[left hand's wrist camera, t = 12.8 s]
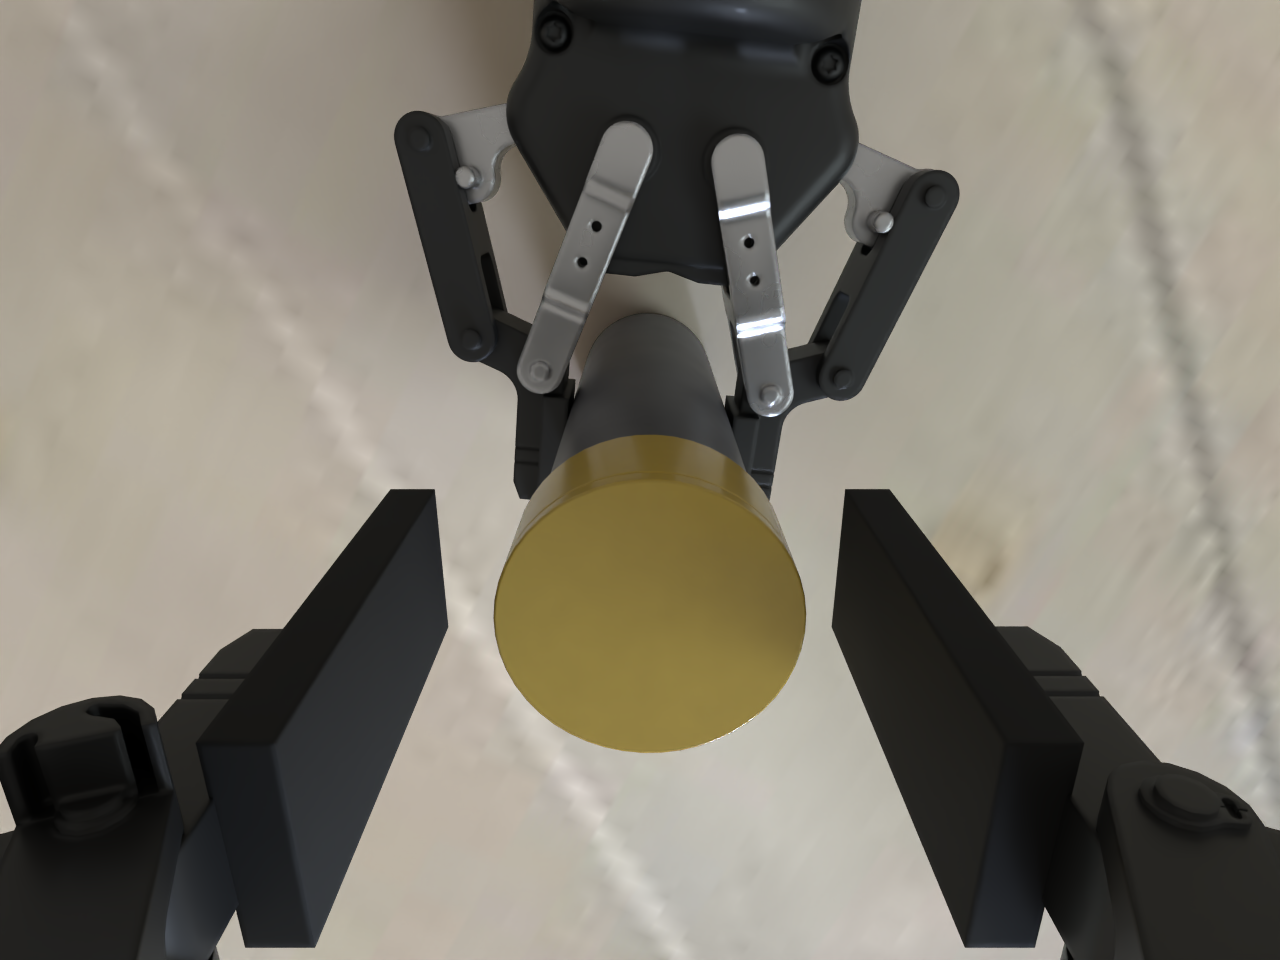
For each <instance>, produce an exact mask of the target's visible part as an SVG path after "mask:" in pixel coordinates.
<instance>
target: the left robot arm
mask: <svg viewBox="0 0 1280 960" xmlns="http://www.w3.org/2000/svg"><path fill="white" fill-rule="evenodd" d="M447 629H448V619H447V609H446V599H445V589H444V579H443V568H442V558H441V548H440V538H439V528H438V518H437V508H436V497H435V489H390V491H389V492H388V493H387V495H386V496H385V497H384V499H383V500H382V501H381V502H380V504H379V505H378V506H377V508H376V509H375V510H374V512H373V513H372V514H371V515H370V517H369V518H368V519H367V521H366V522H365V523H364V525H363V526H362V527H361V528H360V530H359V531H358V532H357V534H356V535H355V536H354V538H353V539H352V540H351V541H350V543H349V544H348V545H347V547H346V548H345V549H344V551H343V552H342V553H341V554H340V556H339V557H338V558H337V560H336V561H335V562H334V564H333V565H332V566H331V567H330V569H329V570H328V571H327V573H326V574H325V575H324V577H323V578H322V579H321V580H320V582H319V583H318V584H317V586H316V587H315V588H314V589H313V591H312V592H311V593H310V595H309V596H308V597H307V599H306V600H305V601H304V602H303V604H302V605H301V606H300V608H299V609H298V610H297V612H296V613H295V614H294V615H293V617H292V618H291V619H290V621H289V622H288V623H287V625H286V626H285V627H284V628H283V629H252V630H251V631H249V632H248V633H246V634H244V635H243V636H241V637H240V638H238V639H236V640H235V641H233V642H232V643H230V644H229V645H227V646H225V647H224V648H222V649H221V650H220V651H219V652H218V653H217V654H216V655H215V656H214V657H213V659H212V660H211V661H210V662H209V663H208V664H207V666H206V667H205V668H204V669H203V670H202V671H201V672H200V674H199V679H194V681H193V682H192V683H191V684H190V685H189V686H188V687H187V689H186V690H185V691H184V692H183V693H182V698H181V699H177V700H176V701H175V702H174V704H173V705H172V706H171V707H170V708H169V709H168V711H167V712H166V713H165V714H164V715H163V716H162V717H161V719H160V720H159V721H158V722H157V718H156V714H155V710H154V708H153V707H152V706H150V705H149V704H148V703H146V702H145V701H144V700H142V699H138V698H132V697H126V696H109V697H98V698H91V699H87V700H83V701H80V702H76V703H72V704H69V705H65V706H61V707H59V708H57V709H55V710H53V711H50V712H48V713H46V714H44V715H41V716H39V717H37V718H35V719H33V720H31V721H29V722H28V723H26V724H25V725H24V726H22V727H21V728H19V729H18V730H16V731H15V732H13V733H12V734H10V735H9V736H7V737H6V738H5V740H4V741H3V742H2V743H1V744H0V782H1V785H2V787H3V790H4V793H5V796H6V799H7V801H8V804H9V807H10V810H11V813H12V815H13V818H14V821H15V824H16V828H15V830H14V831H10V832H7V833H3V834H0V960H220V959H219V955H218V952H217V948H216V945H217V943H218V941H219V940H220V938H221V936H222V934H223V932H224V930H225V928H226V927H227V925H228V923H229V921H230V919H231V917H232V916H233V914H234V912H235V910H236V912H237V916H238V920H239V924H240V928H241V932H242V936H243V940H244V945H245V948H315V946H316V944H317V942H318V939H319V937H320V934H321V932H322V930H323V927H324V925H325V922H326V920H327V918H328V915H329V913H330V910H331V908H332V906H333V903H334V901H335V898H336V896H337V893H338V891H339V889H340V886H341V884H342V881H343V879H344V877H345V874H346V872H347V869H348V867H349V865H350V862H351V860H352V857H353V855H354V853H355V850H356V848H357V845H358V843H359V841H360V838H361V836H362V833H363V831H364V828H365V826H366V824H367V821H368V819H369V816H370V814H371V812H372V809H373V807H374V804H375V802H376V800H377V797H378V795H379V792H380V790H381V788H382V785H383V783H384V780H385V778H386V776H387V773H388V771H389V768H390V766H391V763H392V761H393V759H394V756H395V754H396V751H397V749H398V747H399V744H400V742H401V739H402V737H403V735H404V732H405V730H406V727H407V725H408V723H409V720H410V718H411V715H412V713H413V711H414V708H415V706H416V703H417V701H418V698H419V696H420V694H421V691H422V689H423V686H424V684H425V682H426V679H427V677H428V674H429V672H430V670H431V667H432V665H433V662H434V660H435V658H436V655H437V653H438V650H439V648H440V646H441V643H442V641H443V638H444V636H445V633H446V631H447ZM832 629H833V631H834V633H835V636H836V638H837V641H838V643H839V646H840V648H841V650H842V653H843V655H844V658H845V660H846V662H847V665H848V667H849V670H850V672H851V674H852V677H853V679H854V682H855V684H856V686H857V689H858V691H859V694H860V696H861V698H862V701H863V703H864V706H865V708H866V711H867V713H868V715H869V718H870V720H871V723H872V725H873V727H874V730H875V732H876V735H877V737H878V739H879V742H880V744H881V747H882V749H883V751H884V754H885V756H886V759H887V761H888V763H889V766H890V768H891V771H892V773H893V776H894V778H895V780H896V783H897V785H898V788H899V790H900V792H901V795H902V797H903V800H904V802H905V804H906V807H907V809H908V812H909V814H910V816H911V819H912V821H913V824H914V826H915V828H916V831H917V833H918V836H919V838H920V841H921V843H922V845H923V848H924V850H925V853H926V855H927V857H928V860H929V862H930V865H931V867H932V869H933V872H934V874H935V877H936V879H937V881H938V884H939V886H940V889H941V891H942V893H943V896H944V898H945V901H946V903H947V906H948V908H949V910H950V913H951V915H952V918H953V920H954V922H955V925H956V927H957V930H958V932H959V934H960V937H961V939H962V942H963V944H964V946H965V948H1035V945H1036V940H1037V936H1038V932H1039V928H1040V924H1041V920H1042V916H1043V912H1044V908H1046V910H1047V911H1048V913H1049V915H1050V917H1051V919H1052V921H1053V922H1054V924H1055V926H1056V928H1057V930H1058V932H1059V933H1060V935H1061V937H1062V939H1063V941H1064V943H1065V944H1064V948H1063V952H1062V955H1061V959H1060V960H1280V830H1275V829H1272V828H1268V827H1265V826H1264V824H1263V823H1262V822H1261V820H1260V819H1259V817H1258V816H1257V815H1256V813H1255V812H1254V811H1253V809H1252V808H1251V806H1250V805H1249V804H1247V803H1246V802H1245V801H1244V800H1242V799H1241V798H1240V797H1239V796H1237V795H1236V794H1235V793H1233V792H1232V791H1231V790H1230V789H1228V788H1227V787H1226V786H1224V785H1222V784H1220V783H1218V782H1216V781H1214V780H1212V779H1210V778H1208V777H1206V776H1204V775H1202V774H1200V773H1198V772H1195V771H1192V770H1189V769H1186V768H1182V767H1179V766H1176V765H1173V764H1170V763H1162V762H1160V761H1159V760H1158V758H1157V757H1156V756H1155V755H1154V754H1153V753H1152V751H1151V750H1150V749H1149V748H1148V747H1147V746H1146V745H1145V743H1144V742H1143V741H1142V740H1141V739H1140V738H1139V737H1138V735H1137V734H1136V733H1135V732H1134V731H1133V730H1132V729H1131V727H1130V726H1129V725H1128V724H1127V723H1126V722H1125V721H1124V719H1123V718H1122V717H1121V716H1120V715H1119V714H1118V713H1117V711H1116V710H1115V709H1114V708H1113V707H1112V706H1111V705H1110V703H1109V702H1108V701H1107V700H1106V699H1105V698H1104V697H1100V696H1099V691H1098V690H1097V688H1096V687H1095V686H1094V685H1093V684H1092V683H1091V682H1090V680H1089V679H1088V678H1087V677H1086V676H1082V674H1081V670H1080V669H1079V668H1078V667H1077V666H1076V664H1075V663H1074V662H1073V661H1072V660H1071V659H1070V658H1069V656H1068V655H1067V654H1066V653H1065V652H1064V651H1063V649H1062V648H1061V647H1059V646H1058V645H1056V644H1055V643H1053V642H1051V641H1050V640H1048V639H1047V638H1045V637H1043V636H1042V635H1040V634H1039V633H1037V632H1035V631H1034V630H1032V629H1031V628H1029V627H995V626H994V625H993V623H992V622H991V621H990V619H989V618H988V617H987V615H986V614H985V613H984V612H983V610H982V609H981V608H980V606H979V605H978V604H977V602H976V601H975V600H974V599H973V597H972V596H971V595H970V593H969V592H968V591H967V590H966V588H965V587H964V586H963V584H962V583H961V582H960V580H959V579H958V578H957V577H956V575H955V574H954V573H953V571H952V570H951V569H950V567H949V566H948V565H947V564H946V562H945V561H944V560H943V558H942V557H941V556H940V554H939V553H938V552H937V551H936V549H935V548H934V547H933V545H932V544H931V543H930V541H929V540H928V539H927V538H926V536H925V535H924V534H923V532H922V531H921V530H920V528H919V527H918V526H917V525H916V523H915V522H914V521H913V519H912V518H911V517H910V515H909V514H908V513H907V512H906V510H905V509H904V508H903V506H902V505H901V504H900V502H899V501H898V500H897V499H896V497H895V496H894V495H893V493H892V492H891V491H890V489H845V497H844V508H843V518H842V528H841V538H840V548H839V558H838V568H837V579H836V589H835V599H834V609H833V619H832Z"/></svg>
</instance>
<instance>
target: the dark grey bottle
mask: <svg viewBox="0 0 1280 960" xmlns="http://www.w3.org/2000/svg"><path fill="white" fill-rule="evenodd" d="M634 435H664V436H673V437H678V438H682V439H687V440H691V441H694V442H697V443H699V444H702V445H705V446H707V447H710V448H712V449H714V450H716V451H718V452H719V453H721V454H723V455H725V456H727V457H728V458H729V459H731V460H732V461H734V462H735V463H736V464H738V465H739V466H740V467H742V468H743V469H744V470H745V467H744V464H743V461H742V458H741V455H740V452H739V449H738V446H737V443H736V440H735V437H734V434H733V432H732V429H731V426H730V423H729V420H728V417H727V414H726V411H725V408H724V405H723V402H722V399H721V396H720V393H719V390H718V387H717V384H716V381H715V379H714V376H713V373H712V370H711V367H710V364H709V361H708V358H707V355H706V353H705V350H704V348H703V346H702V344H701V343H700V341H699V339H698V338H697V337H696V336H695V334H694V333H693V332H692V331H691V330H690V329H689V328H687V327H686V326H685V325H683V324H682V323H680V322H678V321H677V320H675V319H672V318H670V317H667V316H664V315H660V314H652V313H642V314H635V315H631V316H628V317H625V318H623V319H620V320H618V321H616V322H615V323H613V324H612V325H610V326H609V327H608V328H606V329H605V330H604V331H603V332H602V333H601V334H600V335H599V337H598V338H597V339H596V341H595V342H594V344H593V346H592V348H591V350H590V352H589V355H588V358H587V361H586V364H585V367H584V370H583V373H582V376H581V380H580V383H579V386H578V389H577V392H576V395H575V398H574V402H573V405H572V408H571V411H570V414H569V417H568V420H567V424H566V427H565V430H564V433H563V436H562V439H561V442H560V446H559V449H558V452H557V455H556V458H555V461H554V464H553V468H552V471H551V473H552V472H553V471H554V470H555V469H556V468H557V467H559V466H560V465H561V464H562V463H564V462H565V461H566V460H568V459H569V458H571V457H572V456H574V455H576V454H578V453H579V452H581V451H583V450H584V449H587V448H589V447H592V446H594V445H596V444H599V443H601V442H605V441H608V440H612V439H616V438H620V437H627V436H634ZM745 471H746V470H745Z"/></svg>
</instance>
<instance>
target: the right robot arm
mask: <svg viewBox="0 0 1280 960" xmlns="http://www.w3.org/2000/svg"><path fill="white" fill-rule="evenodd" d="M861 1H862V0H534V7H533V27H532V38H531V44H530V49H529V52H528V55H527V59H526V61H525V63H524V66H523V68H522V70H521V72H520V74H519V75H518V77H517V79H516V80H515V82H514V83H513V85H512V87H511V90H510V92H509V95H508V99H507V103H505V104H500V105H495V106H491V107H486V108H481V109H476V110H471V111H466V112H461V113H456V114H452V115H447V116H437V115H434V114H430V113H427V112H423V111H412V112H409V113H407V114H405V115H404V116H403V117H402V118H401V119H400V120H399V121H398V123H397V125H396V128H395V132H394V140H395V145H396V149H397V153H398V156H399V160H400V164H401V168H402V171H403V175H404V179H405V183H406V186H407V190H408V194H409V197H410V201H411V205H412V209H413V212H414V216H415V220H416V224H417V227H418V231H419V235H420V239H421V242H422V246H423V250H424V254H425V257H426V261H427V265H428V268H429V272H430V276H431V280H432V283H433V287H434V291H435V295H436V298H437V302H438V306H439V310H440V313H441V317H442V321H443V325H444V328H445V332H446V336H447V339H448V343H449V346H450V348H451V350H452V351H453V353H454V354H455V355H456V356H457V357H459V358H460V359H462V360H465V361H468V362H478V361H479V362H481V363H484V364H486V365H488V366H490V367H492V368H494V369H496V370H499V371H501V372H502V373H504V374H505V375H507V376H508V377H509V378H510V379H511V381H512V382H513V384H514V386H515V388H516V391H517V395H518V405H517V424H516V443H515V446H516V447H515V463H514V484H515V487H516V489H517V492H518V495H519V498H520V499H529V500H530V499H531V497H532V495H533V494H534V493H535V491H536V490H537V489H538V487H539V486H540V485H541V483H542V482H543V481H544V480H545V479H546V478H547V477H548V476H549V475H550V474H551V471H552V468H553V464H554V461H555V458H556V455H557V452H558V449H559V446H560V442H561V439H562V436H563V433H564V430H565V427H566V424H567V420H568V417H569V414H570V411H571V408H572V405H573V402H574V393H575V379H568V376H569V362H570V359H571V356H572V354H573V351H574V349H575V347H576V344H577V342H578V339H579V337H580V334H581V332H582V329H583V327H584V324H585V322H586V319H587V317H588V315H589V312H590V310H591V307H592V305H593V302H594V300H595V297H596V295H597V292H598V290H599V288H600V285H601V283H602V280H603V278H604V275H605V273H609V274H618V275H627V276H641V275H647V274H653V273H659V272H666V271H668V272H672V273H674V274H677V275H679V276H682V277H684V278H687V279H689V280H692V281H695V282H697V283H703V284H713V285H721V288H722V294H723V300H724V305H725V310H726V314H727V318H728V323H729V329H730V335H731V341H732V346H733V352H734V358H735V364H736V370H737V382H736V389H735V395H734V396H727V395H726V401H725V411H726V414H727V417H728V420H729V423H730V426H731V429H732V432H733V434H734V437H735V440H736V443H737V446H738V449H739V452H740V455H741V458H742V461H743V464H744V467H745V470H746V472H747V473H748V474H749V475H750V476H751V477H752V478H753V479H754V480H755V481H756V483H757V484H758V485H759V486H760V488H761V489H762V490H763V491H764V493H765V495H766V496H767V498H768V500H770V494H771V486H772V483H773V477H774V471H775V465H776V459H777V453H778V447H779V441H780V435H781V430H782V425H783V422H784V420H785V418H786V416H787V415H788V414H789V412H790V411H791V410H792V409H794V408H795V407H797V406H798V405H801V404H803V403H806V402H811V401H815V400H819V399H823V398H827V397H829V398H831V399H833V400H838V401H844V400H848V399H851V398H853V397H854V396H856V395H857V394H858V393H859V392H860V391H861V390H862V388H863V386H864V384H865V383H866V381H867V379H868V377H869V375H870V373H871V371H872V369H873V367H874V365H875V363H876V361H877V359H878V357H879V355H880V353H881V352H882V350H883V348H884V346H885V344H886V342H887V340H888V338H889V336H890V334H891V332H892V330H893V328H894V326H895V324H896V322H897V321H898V319H899V317H900V315H901V313H902V311H903V309H904V307H905V305H906V303H907V301H908V299H909V297H910V295H911V293H912V291H913V290H914V288H915V286H916V284H917V282H918V280H919V278H920V276H921V274H922V272H923V270H924V268H925V266H926V264H927V262H928V260H929V259H930V257H931V255H932V253H933V251H934V249H935V247H936V245H937V243H938V241H939V239H940V237H941V235H942V233H943V231H944V229H945V228H946V226H947V224H948V222H949V220H950V218H951V216H952V214H953V212H954V210H955V208H956V206H957V204H958V201H959V186H958V184H957V181H956V180H955V178H954V177H953V176H952V175H951V174H949V173H947V172H945V171H942V170H933V169H915V168H913V167H911V166H909V165H907V164H904V163H902V162H900V161H898V160H896V159H893V158H891V157H889V156H887V155H885V154H882V153H880V152H878V151H876V150H874V149H871V148H869V147H867V146H865V145H863V144H861V143H859V133H858V127H857V123H856V120H855V117H854V114H853V111H852V107H851V103H850V97H849V84H848V83H849V70H850V64H851V59H852V53H853V47H854V41H855V35H856V29H857V24H858V18H859V12H860V6H861ZM515 146H517V148H518V149H519V151H520V153H521V155H522V156H523V158H524V160H525V161H526V163H527V165H528V167H529V168H530V170H531V172H532V173H533V175H534V177H535V179H536V180H537V182H538V184H539V185H540V187H541V189H542V190H543V192H544V194H545V196H546V197H547V199H548V201H549V202H550V204H551V206H552V208H553V209H554V211H555V213H556V214H557V216H558V218H559V219H560V221H561V223H562V225H563V226H564V228H565V230H566V232H567V233H566V235H565V238H564V240H563V243H562V246H561V248H560V251H559V253H558V256H557V259H556V261H555V264H554V266H553V269H552V272H551V274H550V277H549V279H548V282H547V285H546V287H545V290H544V293H543V296H542V301H541V304H540V306H539V309H538V312H537V314H536V317H535V319H534V322H533V325H532V324H530V323H528V322H526V321H524V320H522V319H520V318H518V317H516V316H514V315H511V314H509V313H508V312H507V308H506V303H505V299H504V295H503V291H502V287H501V282H500V278H499V274H498V270H497V266H496V261H495V257H494V253H493V249H492V245H491V241H490V236H489V232H488V228H487V224H486V220H485V215H484V211H483V207H482V203H481V202H484V201H487V200H489V199H491V198H492V197H493V196H494V195H495V194H496V193H497V191H498V190H499V187H500V184H501V173H500V167H501V162H502V159H503V157H504V155H505V154H506V153H507V152H508V151H509V150H510V149H511V148H513V147H515ZM838 183H840V184H841V185H842V186H843V187H844V189H845V191H846V193H847V197H848V207H847V210H846V214H845V218H844V226H845V230H846V232H847V234H848V235H849V237H850V238H851V239H853V240H854V241H856V242H857V243H856V245H855V247H854V249H853V251H852V253H851V255H850V257H849V259H848V261H847V263H846V265H845V267H844V270H843V272H842V274H841V276H840V278H839V280H838V282H837V284H836V286H835V288H834V290H833V292H832V294H831V296H830V299H829V301H828V303H827V305H826V307H825V309H824V311H823V313H822V315H821V317H820V319H819V321H818V323H817V326H816V328H815V330H814V332H813V334H812V336H811V338H810V340H809V342H808V344H806V345H802V346H798V347H794V348H790V349H787V342H786V335H785V309H784V302H783V295H782V288H781V281H780V274H779V267H778V260H777V253H776V250H777V249H778V248H779V247H780V246H781V245H782V244H783V243H784V242H785V241H786V240H787V239H788V237H789V236H790V235H791V234H792V233H793V232H794V231H795V230H796V229H797V228H798V227H799V226H800V224H801V223H802V222H803V221H804V220H805V219H806V218H807V217H808V216H809V215H810V214H811V213H812V211H813V210H814V209H815V208H816V207H817V206H818V205H819V204H820V203H821V202H822V201H823V200H824V198H825V197H826V196H827V195H828V194H829V193H830V192H831V191H832V190H833V189H834V188H835V186H836V185H837V184H838Z"/></svg>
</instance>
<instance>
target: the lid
mask: <svg viewBox="0 0 1280 960" xmlns="http://www.w3.org/2000/svg"><path fill="white" fill-rule="evenodd" d="M805 625H806V606H805V595H804V591H803V587H802V583H801V579H800V576H799V573H798V571H797V568H796V566H795V563H794V560H793V558H792V555H791V553H790V550H789V547H788V545H787V542H786V540H785V537H784V534H783V532H782V529H781V527H780V524H779V521H778V519H777V517H776V514H775V512H774V509H773V507H772V505H771V503H770V502H769V500H768V498H767V496H766V495H765V493H764V491H763V490H762V489H761V488H760V486H759V485H758V484H757V483H756V481H755V480H754V479H753V478H752V477H751V476H750V475H749V474H748V473H747V472H746V471H745V470H744V469H743V468H742V467H740V466H739V465H738V464H736V463H735V462H734V461H732V460H731V459H729V458H728V457H727V456H725V455H723V454H721V453H719V452H718V451H716V450H714V449H712V448H710V447H707V446H705V445H702V444H699V443H697V442H694V441H691V440H687V439H682V438H678V437H673V436H664V435H634V436H627V437H620V438H616V439H612V440H608V441H605V442H601V443H599V444H596V445H594V446H592V447H589V448H587V449H584V450H583V451H581V452H579V453H578V454H576V455H574V456H572V457H571V458H569V459H568V460H566V461H565V462H564V463H562V464H561V465H560V466H559V467H557V468H556V469H555V470H554V471H553V472H552V473H551V474H550V475H549V476H548V477H547V478H546V479H545V480H544V481H543V482H542V483H541V485H540V486H539V487H538V489H537V490H536V491H535V493H534V494H533V495H532V497H531V499H530V501H529V503H528V505H527V506H526V508H525V510H524V513H523V515H522V518H521V521H520V524H519V526H518V529H517V532H516V535H515V537H514V540H513V543H512V546H511V548H510V551H509V554H508V557H507V559H506V562H505V565H504V568H503V570H502V573H501V576H500V579H499V582H498V586H497V591H496V595H495V601H494V628H495V637H496V641H497V645H498V649H499V653H500V655H501V658H502V660H503V663H504V665H505V668H506V670H507V672H508V674H509V675H510V677H511V679H512V681H513V682H514V684H515V686H516V687H517V688H518V690H519V691H520V692H521V694H522V695H523V696H524V697H525V699H526V700H527V701H528V702H529V703H530V704H531V705H532V706H533V707H534V708H535V709H536V710H537V711H538V712H539V713H540V714H542V715H543V716H544V717H545V718H547V719H548V720H549V721H551V722H552V723H553V724H555V725H556V726H558V727H560V728H561V729H563V730H565V731H566V732H568V733H570V734H572V735H574V736H576V737H578V738H581V739H583V740H585V741H587V742H590V743H594V744H597V745H600V746H603V747H607V748H611V749H616V750H621V751H629V752H639V753H662V752H670V751H679V750H684V749H688V748H693V747H697V746H700V745H703V744H706V743H709V742H712V741H715V740H717V739H719V738H721V737H723V736H726V735H728V734H730V733H732V732H734V731H735V730H737V729H738V728H740V727H742V726H743V725H745V724H746V723H748V722H749V721H751V720H752V719H753V718H754V717H755V716H757V715H758V714H759V713H760V712H762V711H763V710H764V709H765V708H766V707H767V706H768V705H769V704H770V702H771V701H772V700H773V699H774V698H775V697H776V696H777V695H778V693H779V692H780V690H781V689H782V688H783V686H784V685H785V684H786V682H787V680H788V678H789V677H790V675H791V673H792V671H793V669H794V667H795V665H796V662H797V660H798V657H799V654H800V652H801V649H802V644H803V639H804V634H805Z"/></svg>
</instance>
